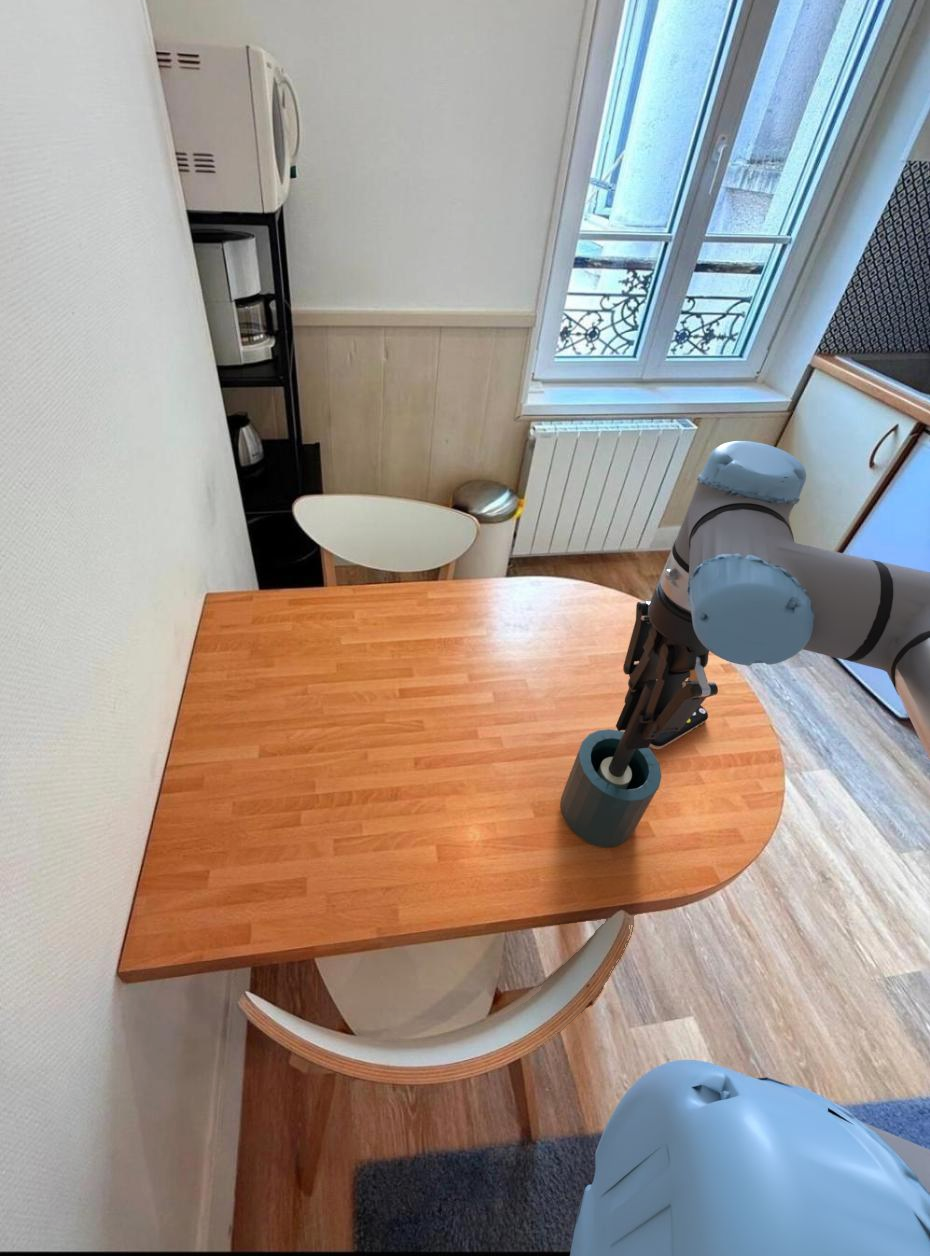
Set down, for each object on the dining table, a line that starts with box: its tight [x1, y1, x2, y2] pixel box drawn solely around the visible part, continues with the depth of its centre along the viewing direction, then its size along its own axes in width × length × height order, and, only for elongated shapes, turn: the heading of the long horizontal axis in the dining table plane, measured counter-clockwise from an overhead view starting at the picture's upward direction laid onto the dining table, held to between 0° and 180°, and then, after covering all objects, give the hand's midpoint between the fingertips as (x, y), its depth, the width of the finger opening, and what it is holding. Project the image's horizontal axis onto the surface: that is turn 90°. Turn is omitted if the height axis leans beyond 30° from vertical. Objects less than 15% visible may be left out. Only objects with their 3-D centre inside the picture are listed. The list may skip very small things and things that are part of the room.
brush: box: [597, 680, 657, 789], centre depth 75 cm, size 4×4×22 cm
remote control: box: [648, 704, 709, 750], centre depth 97 cm, size 6×13×2 cm, turn 120°
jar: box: [560, 728, 662, 849], centre depth 81 cm, size 10×10×12 cm
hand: (631, 736), depth 74 cm, fingers closed on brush, 2 cm apart
